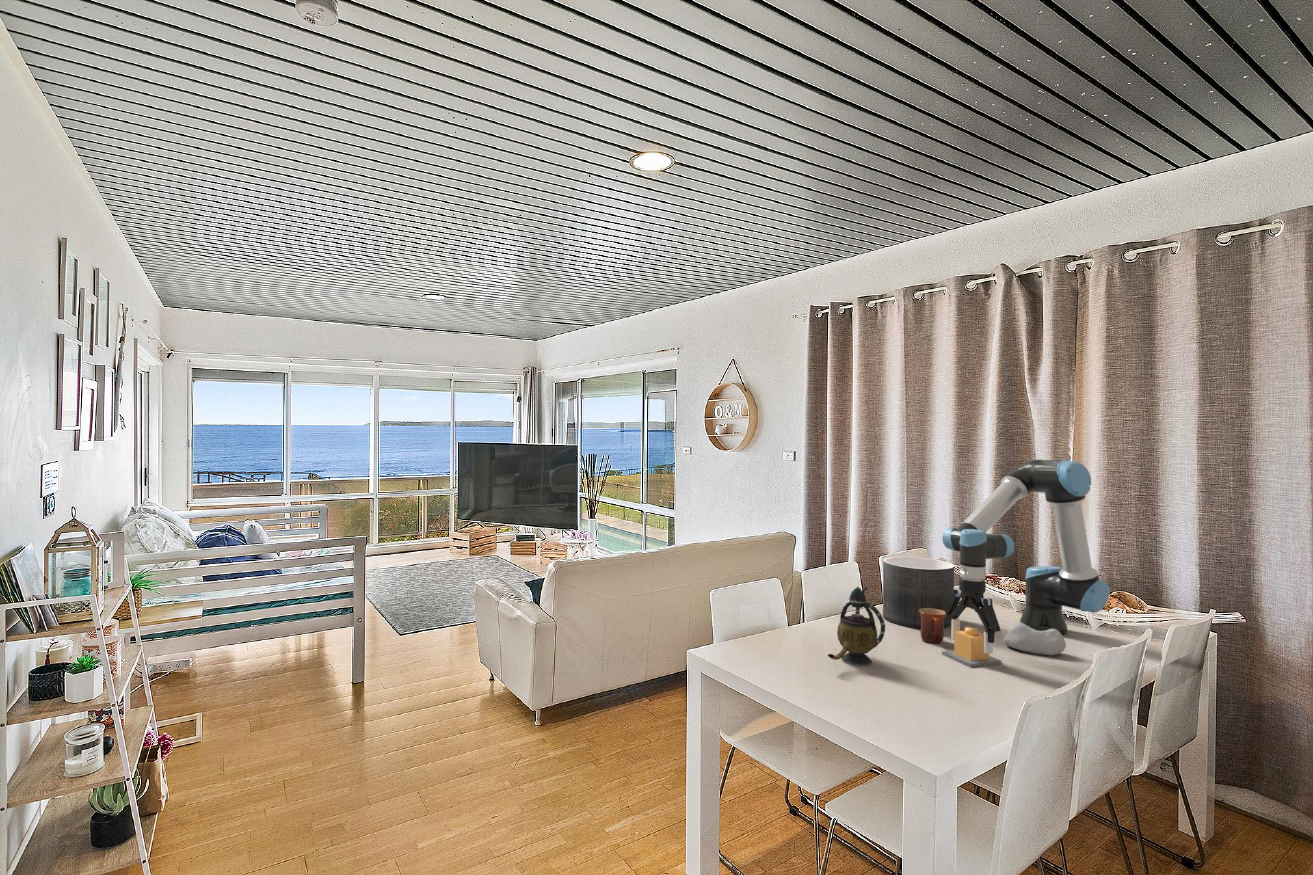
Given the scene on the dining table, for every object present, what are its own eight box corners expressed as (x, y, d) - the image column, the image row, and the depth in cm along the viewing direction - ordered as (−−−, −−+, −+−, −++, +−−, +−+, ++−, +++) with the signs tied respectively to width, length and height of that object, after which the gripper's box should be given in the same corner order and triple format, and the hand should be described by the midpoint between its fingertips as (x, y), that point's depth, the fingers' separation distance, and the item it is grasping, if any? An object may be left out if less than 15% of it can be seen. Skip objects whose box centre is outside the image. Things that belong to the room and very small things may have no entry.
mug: (916, 636, 227) (916, 607, 227) (942, 638, 226) (943, 609, 226) (923, 647, 216) (923, 616, 216) (951, 649, 214) (951, 618, 214)
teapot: (888, 659, 203) (889, 585, 203) (849, 679, 185) (850, 598, 185) (852, 649, 211) (853, 579, 211) (812, 668, 193) (813, 591, 193)
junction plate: (971, 651, 212) (972, 633, 212) (1001, 663, 200) (1001, 644, 200) (941, 654, 208) (942, 635, 208) (970, 667, 197) (970, 647, 197)
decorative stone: (1001, 642, 213) (1006, 614, 218) (1003, 652, 220) (1008, 625, 224) (1063, 657, 203) (1067, 627, 207) (1063, 668, 210) (1067, 639, 214)
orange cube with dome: (971, 651, 209) (972, 624, 209) (988, 658, 202) (989, 631, 202) (954, 653, 207) (954, 626, 207) (970, 660, 200) (971, 632, 200)
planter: (965, 630, 236) (966, 570, 236) (895, 628, 236) (896, 568, 236) (936, 611, 261) (937, 557, 261) (873, 610, 261) (874, 556, 262)
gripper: (934, 571, 215) (933, 634, 215) (994, 588, 191) (993, 659, 191) (953, 570, 217) (952, 633, 217) (1014, 586, 194) (1013, 657, 194)
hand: (971, 645), depth 204 cm, fingers open, 13 cm apart
